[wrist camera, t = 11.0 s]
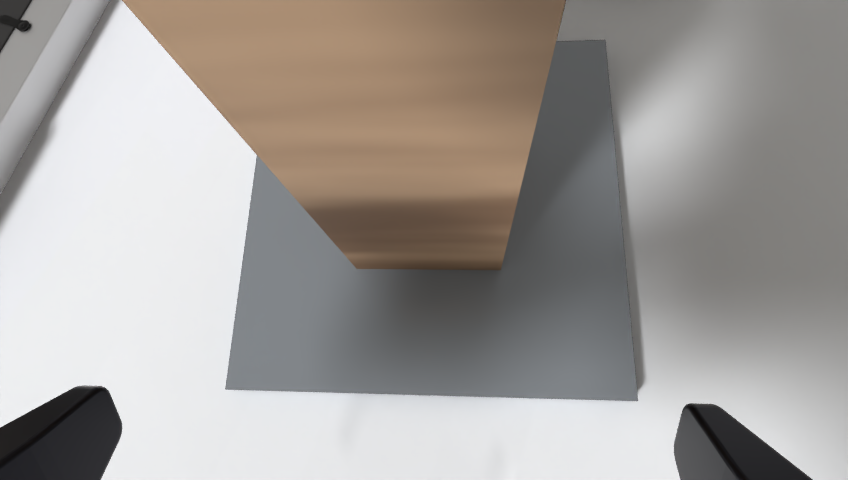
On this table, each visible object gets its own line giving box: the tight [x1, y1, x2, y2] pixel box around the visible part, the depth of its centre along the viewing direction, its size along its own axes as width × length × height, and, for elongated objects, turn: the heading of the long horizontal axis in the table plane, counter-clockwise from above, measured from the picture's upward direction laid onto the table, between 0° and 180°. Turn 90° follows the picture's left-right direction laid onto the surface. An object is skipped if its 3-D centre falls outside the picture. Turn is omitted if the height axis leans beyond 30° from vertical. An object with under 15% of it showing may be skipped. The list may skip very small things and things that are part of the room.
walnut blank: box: [122, 0, 566, 270], centre depth 11 cm, size 4×4×12 cm
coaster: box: [225, 40, 638, 401], centre depth 17 cm, size 12×12×1 cm
